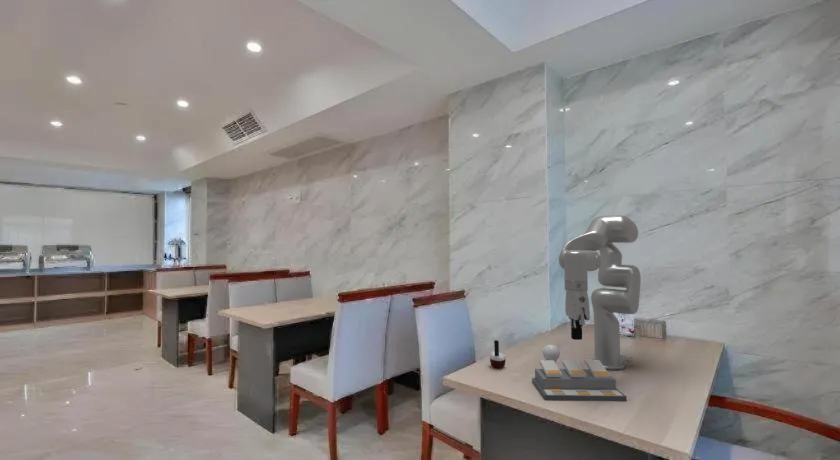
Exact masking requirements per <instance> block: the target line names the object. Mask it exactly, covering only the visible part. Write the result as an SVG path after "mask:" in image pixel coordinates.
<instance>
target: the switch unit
mask: <svg viewBox="0 0 840 460" xmlns="http://www.w3.org/2000/svg"><path fill="white" fill-rule="evenodd" d="M582 369H583V371H584V372H585V373H586V377H570V375H569V374H568V372H567V370H566V369H565V368H559V370H560V371H561V373H562V377H547V376H546V374H545V372H544V370H543V369H542V368H534V377H531V382H532V384H533V385H534V387H535V388H536V390H537V391H538V393H539V394H540V395H541V397H542V398H543V400H544V401H582V402H584V401H585V402H586V401H587V402H589V401H596V402H600V401H601V402H627V395H625V394H624V393H623V392H622V391H621V390H619V389H618V388H617V381H616V379H615V378H614V377H613V376H611V375H610V379H595V378H594V376H593V375H592V373H591V372H590V370H589V369H588V368H582Z"/></svg>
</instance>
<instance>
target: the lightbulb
mask: <svg viewBox="0 0 840 460" xmlns="http://www.w3.org/2000/svg"><path fill="white" fill-rule="evenodd" d="M542 356H543V358H544V360H554V361H555V363H556V364H557V361H558V359H559V358H560V349H559V348H558V347H557V346H556V345H554V344H546V345H545V346H544V347H543V349H542Z"/></svg>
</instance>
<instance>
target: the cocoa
mask: <svg viewBox="0 0 840 460" xmlns="http://www.w3.org/2000/svg"><path fill="white" fill-rule="evenodd" d="M493 341H494V344H493V345H494V346H493V348H494V350H492V351H491V352H490V354H489V361H490V362H489V363H490V365H491V367H492V368H493V369H494V370H495V369H497V370H500V369H503V368H505V365H506V359H507V356H506V355H505V354H504V353H502V352H500V350H499V349H500V341H499V340H496V339H495V340H493Z"/></svg>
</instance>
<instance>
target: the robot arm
mask: <svg viewBox="0 0 840 460" xmlns="http://www.w3.org/2000/svg"><path fill="white" fill-rule="evenodd" d="M592 219H593V220H591V222H590V224H589V226H588V227H587V229H586V231H585V232H584V233H583V234H581V235H578V236H576V237H574V238H573V239H571V240H569V241H568V242H566V243H565V245H563V248H562V249H561V251H560V253H559V255H558V264H559V266H560V267H561V269H563V272H564V291H565V303H564V304H565V315H566V316H567V317H568V319H569V322H570V337H571V339H572V340H574V341H576V340H577V341H579V340H581V341H582V340H583V327H584V325H585V323H586V321H590V319H591V315H590V313H591V312H590V311H591V310H590V300H591V305H592V311H593V312H592V313H593V324H594V325H593V329H594V330H593V331H594V333H593V334H594V337H593V338H594V341H593V342H594V358H591V360H599V361H600V362H601V363H602V365H603V366H604V368H605V369H606V370H610V371H613V370H615V371H618V370H619V371H620V370H623V369H625V363H626V362H627V363H633V362H634V361H633V360H634V359H633V357H632V356H626V355H622V354H621V335H620V334H621V331H620V330H621V329H620V328H621V327H620V326H621V325H620V321H619V320H618V318H617V317H616V315H615V314H623V315H624V314H625V315H634V314H637V313H638V310H639V306H640V294H641V279H642V277H641V271H640V269H639V268H638V267H637V266H635V265H631V264H622V260H623V254H622V252H621V251H620V250H619V248H618V247H617V246H616V245H615V244H614V243H617V244H618V243H619V244H621V243H622V244H623V243H626V244H627V243H628V244H629V243H634V242H635V241H637V239H638V237H639V229H638V226H637V224H636V223H635V222H634V221H632V219H631V218H629V217H628V216H626V215H622V214H618V215H617V214H616V215H600V216H596V217H595V218H592ZM598 251H599V253H598ZM597 270H598V272H597V282H598V283H599V284H600V285H601V286H603V287H605V288H603V287H602V288H597V289H595V290H593V291H592V293H591V296H590V300H589V293H588V290H589V285H588V282H589V281H588V272H593V271H597ZM606 287H610V288H606ZM616 288H620V289H616ZM621 288H622V289H621ZM614 313H615V314H614Z"/></svg>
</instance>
